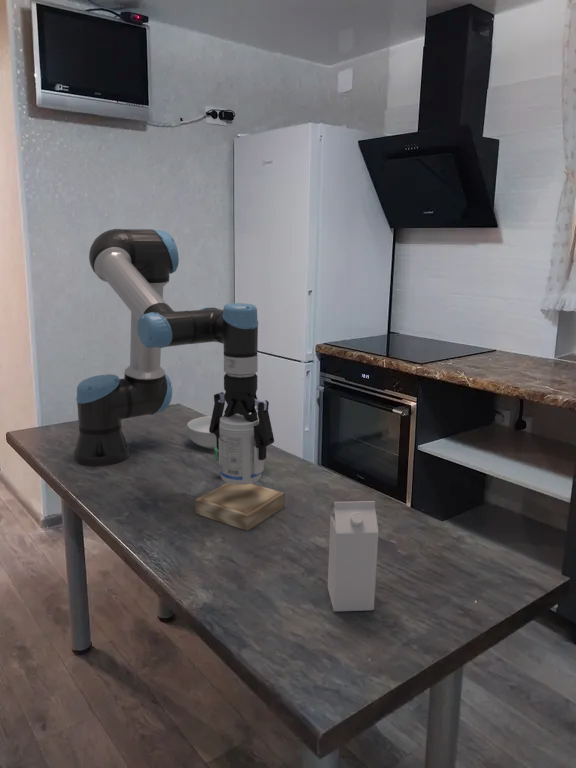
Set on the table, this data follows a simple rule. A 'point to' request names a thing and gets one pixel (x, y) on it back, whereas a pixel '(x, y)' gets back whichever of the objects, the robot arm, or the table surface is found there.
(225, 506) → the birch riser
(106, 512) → the table surface
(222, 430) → the supplement tub
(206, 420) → the cereal bowl
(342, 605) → the milk carton
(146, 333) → the robot arm
